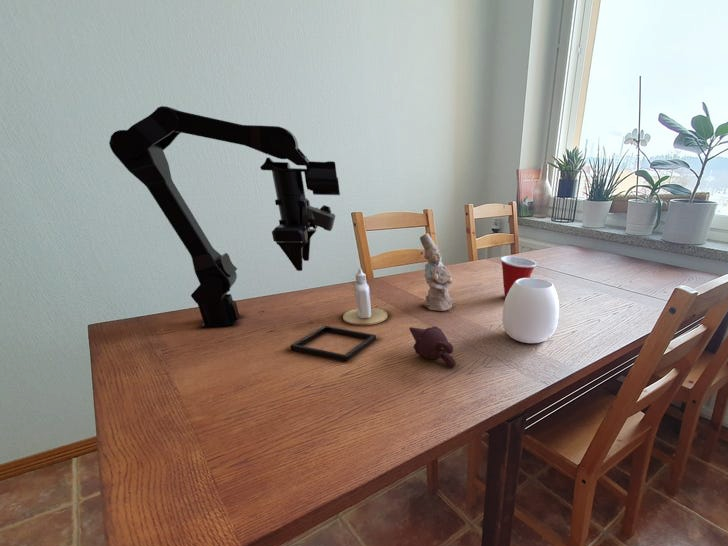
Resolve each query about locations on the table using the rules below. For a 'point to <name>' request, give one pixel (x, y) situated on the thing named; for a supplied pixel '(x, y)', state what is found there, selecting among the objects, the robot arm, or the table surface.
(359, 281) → the eye dropper bottle
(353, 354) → the empty black square frame
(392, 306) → the table surface
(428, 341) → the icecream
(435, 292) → the figurine
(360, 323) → the cork trivet
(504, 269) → the plastic cup
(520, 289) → the white vase
